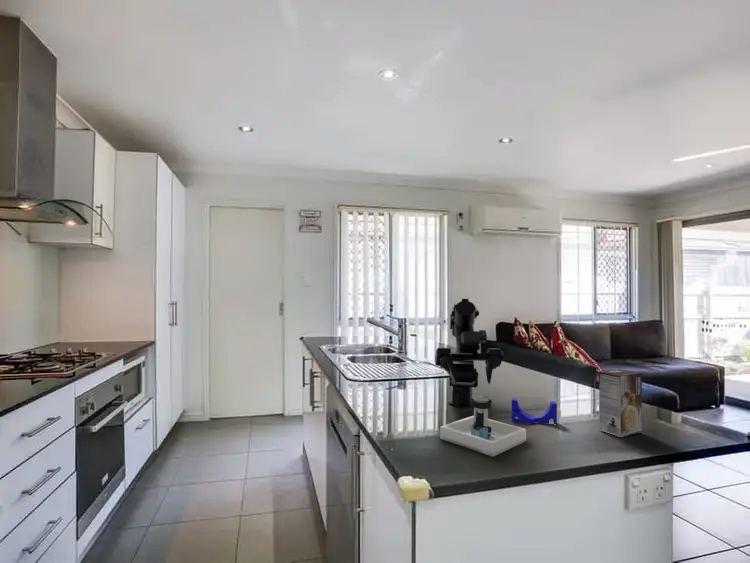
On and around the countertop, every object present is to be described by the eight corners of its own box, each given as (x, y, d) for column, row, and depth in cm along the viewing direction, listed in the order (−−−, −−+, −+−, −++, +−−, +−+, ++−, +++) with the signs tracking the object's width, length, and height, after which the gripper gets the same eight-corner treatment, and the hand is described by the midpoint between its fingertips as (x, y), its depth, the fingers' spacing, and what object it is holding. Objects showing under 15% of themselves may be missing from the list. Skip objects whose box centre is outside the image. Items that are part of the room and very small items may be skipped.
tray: (474, 426, 117) (474, 415, 117) (526, 441, 106) (526, 429, 106) (440, 438, 107) (440, 426, 107) (492, 456, 96) (493, 443, 96)
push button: (500, 438, 106) (501, 397, 106) (488, 443, 102) (488, 401, 102) (477, 431, 111) (478, 392, 111) (465, 435, 107) (465, 395, 107)
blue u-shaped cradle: (511, 422, 121) (511, 401, 122) (511, 418, 126) (511, 397, 126) (557, 427, 118) (557, 405, 118) (555, 422, 122) (555, 401, 122)
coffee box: (619, 426, 119) (619, 368, 119) (642, 433, 113) (643, 372, 114) (597, 431, 115) (598, 371, 115) (621, 438, 109) (621, 375, 109)
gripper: (436, 319, 122) (441, 365, 111) (502, 320, 122) (513, 366, 111) (433, 342, 130) (437, 388, 119) (494, 344, 130) (504, 389, 119)
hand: (472, 382), depth 117 cm, fingers open, 9 cm apart
